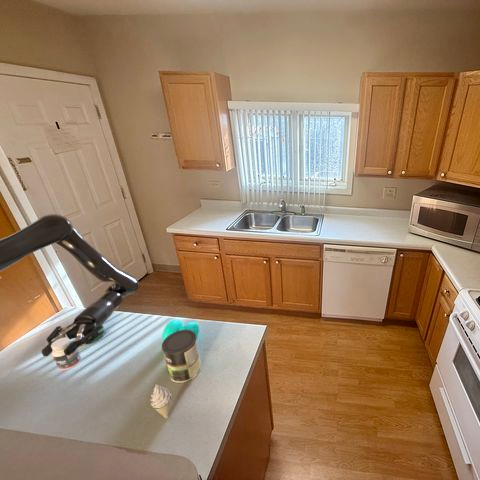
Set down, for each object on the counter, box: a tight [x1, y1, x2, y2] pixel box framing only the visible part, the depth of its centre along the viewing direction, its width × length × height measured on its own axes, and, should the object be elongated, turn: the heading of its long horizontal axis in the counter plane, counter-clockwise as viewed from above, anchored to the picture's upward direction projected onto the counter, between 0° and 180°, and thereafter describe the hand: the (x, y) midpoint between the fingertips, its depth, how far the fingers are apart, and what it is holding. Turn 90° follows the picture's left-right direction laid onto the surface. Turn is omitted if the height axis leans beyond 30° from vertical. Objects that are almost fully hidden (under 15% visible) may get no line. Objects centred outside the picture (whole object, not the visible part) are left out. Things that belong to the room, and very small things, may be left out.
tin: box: [89, 325, 106, 344], centre depth 102 cm, size 8×8×3 cm
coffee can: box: [161, 330, 202, 384], centre depth 88 cm, size 10×10×14 cm
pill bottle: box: [50, 336, 82, 371], centre depth 78 cm, size 5×5×9 cm
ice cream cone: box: [149, 383, 173, 419], centre depth 73 cm, size 5×5×15 cm
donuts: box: [161, 318, 200, 342], centre depth 100 cm, size 10×10×10 cm
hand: (55, 353), depth 74 cm, fingers closed on pill bottle, 5 cm apart
